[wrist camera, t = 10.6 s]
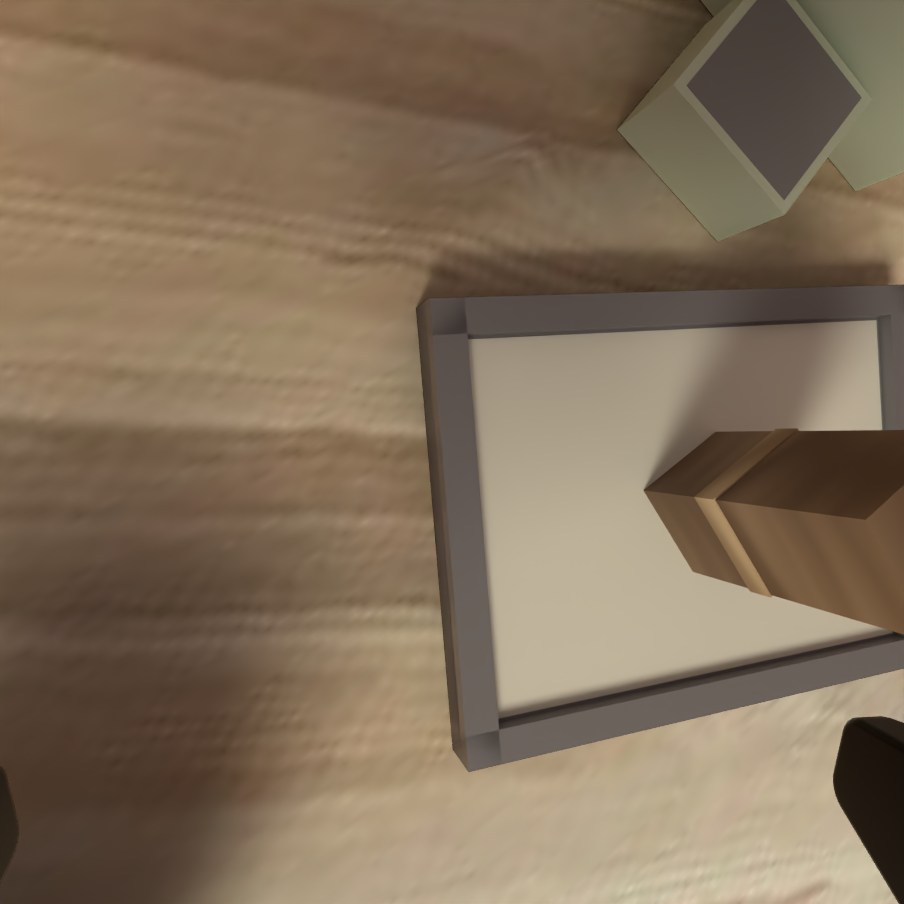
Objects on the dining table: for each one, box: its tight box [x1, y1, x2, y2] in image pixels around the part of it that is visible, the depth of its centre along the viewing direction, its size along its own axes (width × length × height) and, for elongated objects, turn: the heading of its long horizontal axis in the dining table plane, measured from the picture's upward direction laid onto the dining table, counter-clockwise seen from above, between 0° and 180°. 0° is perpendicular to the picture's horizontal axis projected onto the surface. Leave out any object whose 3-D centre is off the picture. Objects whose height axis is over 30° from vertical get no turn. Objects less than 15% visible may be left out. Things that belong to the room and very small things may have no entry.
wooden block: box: [643, 428, 904, 634], centre depth 19 cm, size 3×3×8 cm
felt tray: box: [416, 285, 904, 772], centre depth 23 cm, size 13×17×2 cm
